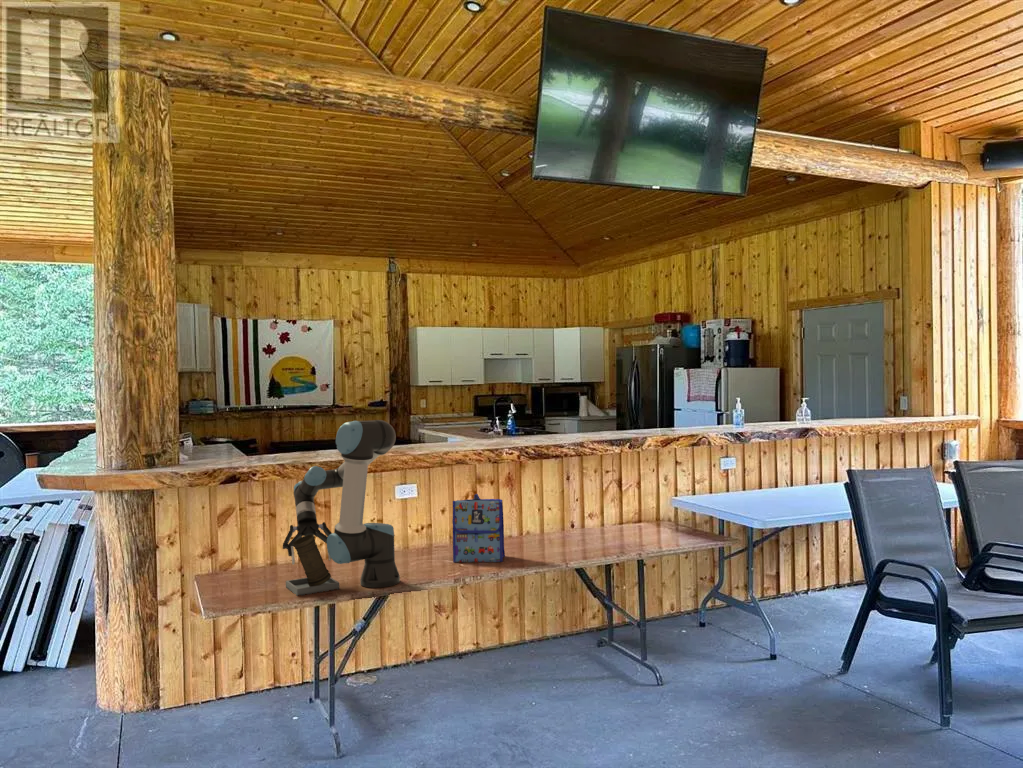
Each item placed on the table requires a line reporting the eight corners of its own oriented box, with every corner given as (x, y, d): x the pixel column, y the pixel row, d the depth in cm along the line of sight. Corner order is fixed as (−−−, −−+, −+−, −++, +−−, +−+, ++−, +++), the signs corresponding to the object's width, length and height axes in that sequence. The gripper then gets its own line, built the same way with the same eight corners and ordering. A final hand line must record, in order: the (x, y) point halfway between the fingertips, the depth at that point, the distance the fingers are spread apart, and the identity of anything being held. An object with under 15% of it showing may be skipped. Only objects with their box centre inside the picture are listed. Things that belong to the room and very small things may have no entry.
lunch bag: (452, 563, 323) (450, 496, 323) (457, 556, 336) (455, 492, 337) (503, 562, 321) (501, 495, 322) (505, 555, 335) (503, 491, 335)
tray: (326, 580, 298) (326, 574, 298) (339, 589, 284) (339, 582, 284) (285, 587, 290) (285, 580, 290) (297, 596, 276) (297, 589, 276)
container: (326, 584, 284) (309, 541, 281) (305, 589, 286) (288, 547, 282) (334, 572, 293) (318, 531, 289) (314, 578, 294) (297, 537, 291)
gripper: (337, 518, 307) (344, 562, 293) (273, 524, 298) (277, 569, 284) (338, 507, 302) (345, 551, 288) (274, 512, 293) (278, 558, 279)
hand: (312, 560), depth 286 cm, fingers open, 13 cm apart
